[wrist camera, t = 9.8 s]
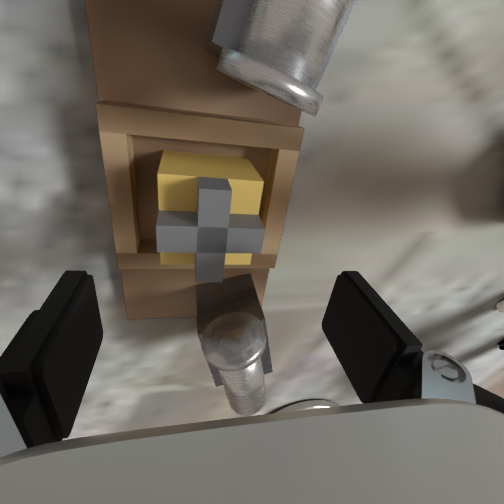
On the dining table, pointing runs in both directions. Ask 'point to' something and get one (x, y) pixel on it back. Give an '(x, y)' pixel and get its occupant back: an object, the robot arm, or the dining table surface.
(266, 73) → the shaft
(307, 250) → the dining table surface
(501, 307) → the robot toy
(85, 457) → the robot arm
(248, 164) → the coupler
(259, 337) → the shaft
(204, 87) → the bed
